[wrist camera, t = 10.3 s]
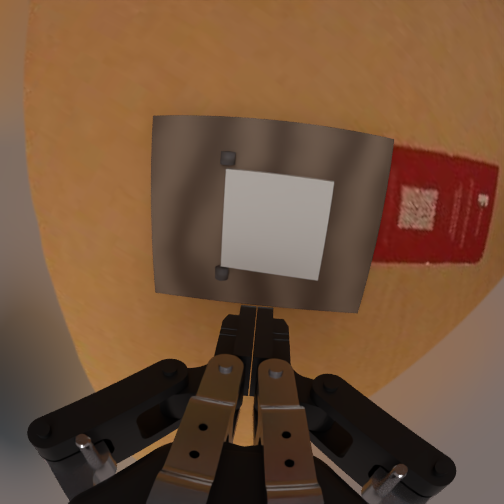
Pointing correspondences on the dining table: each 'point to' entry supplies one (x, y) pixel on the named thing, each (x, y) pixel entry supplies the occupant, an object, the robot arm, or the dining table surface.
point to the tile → (275, 222)
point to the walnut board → (266, 160)
